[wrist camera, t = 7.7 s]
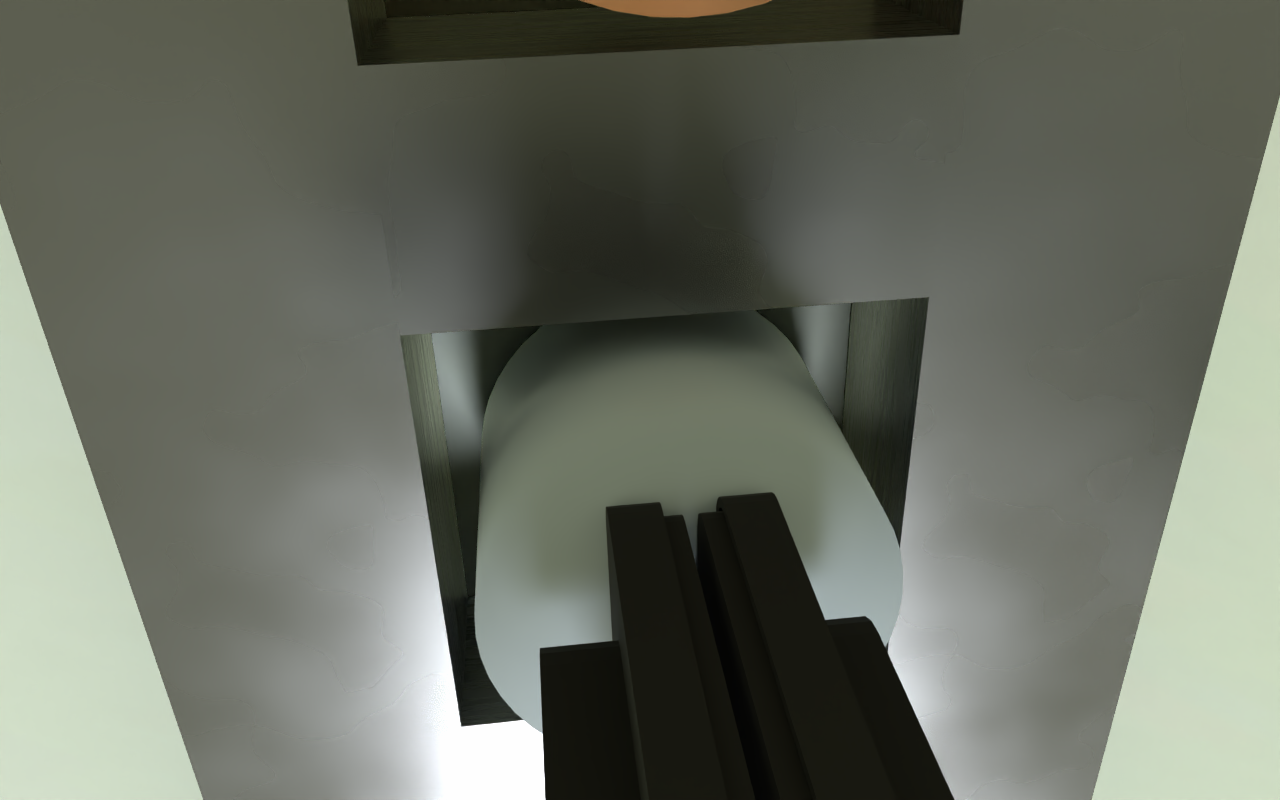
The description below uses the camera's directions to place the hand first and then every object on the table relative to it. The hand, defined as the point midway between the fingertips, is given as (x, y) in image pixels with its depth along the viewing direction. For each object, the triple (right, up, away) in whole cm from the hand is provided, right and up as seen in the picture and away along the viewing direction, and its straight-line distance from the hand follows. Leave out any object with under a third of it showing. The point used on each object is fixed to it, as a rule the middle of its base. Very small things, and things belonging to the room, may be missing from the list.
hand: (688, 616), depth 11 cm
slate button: (0, +2, +3) cm, 3 cm away
